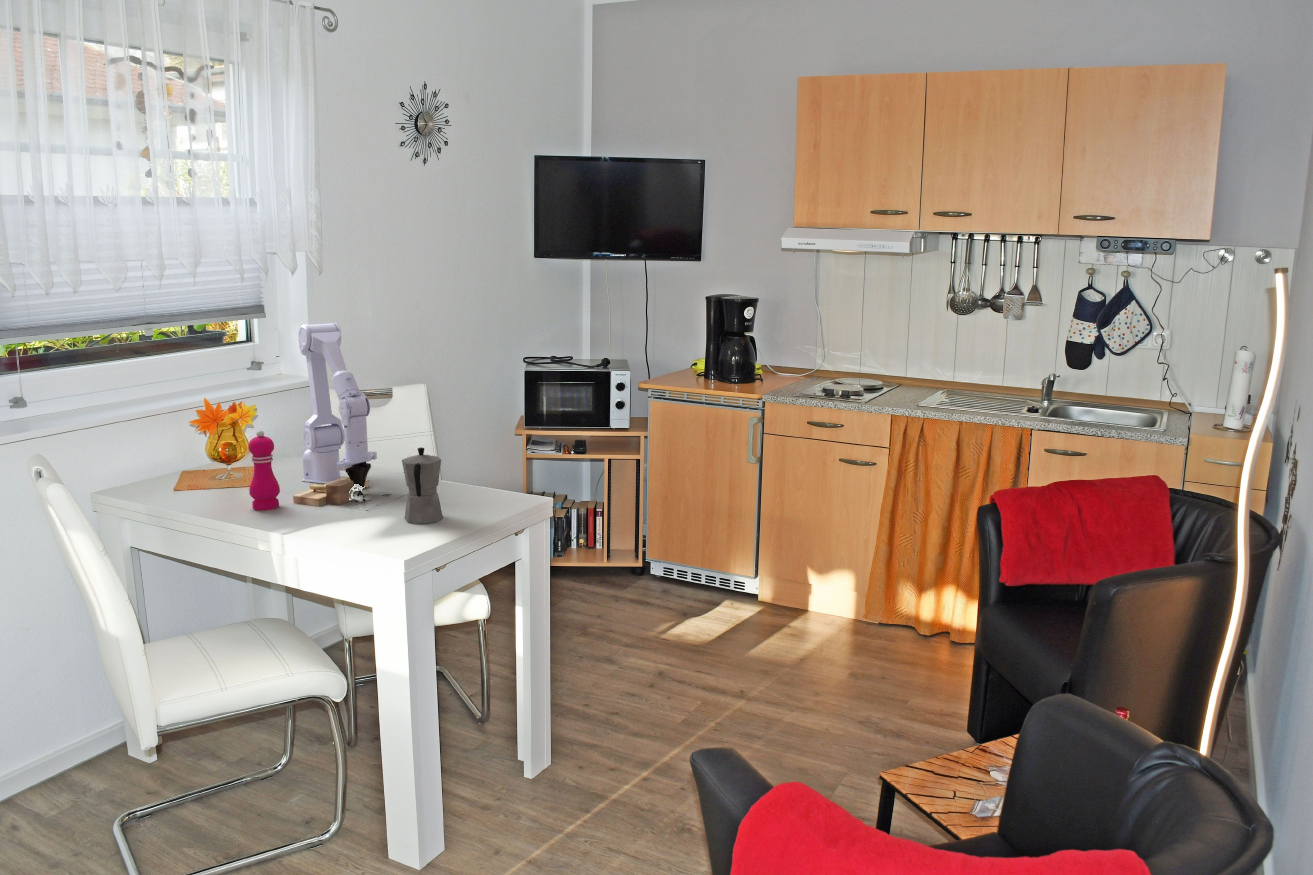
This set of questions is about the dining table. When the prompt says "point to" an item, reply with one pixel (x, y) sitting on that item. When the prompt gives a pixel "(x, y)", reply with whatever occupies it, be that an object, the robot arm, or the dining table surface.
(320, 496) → the board
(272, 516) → the dining table surface
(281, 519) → the dining table surface
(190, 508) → the dining table surface
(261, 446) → the pepper mill
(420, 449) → the coffeepot
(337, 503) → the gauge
